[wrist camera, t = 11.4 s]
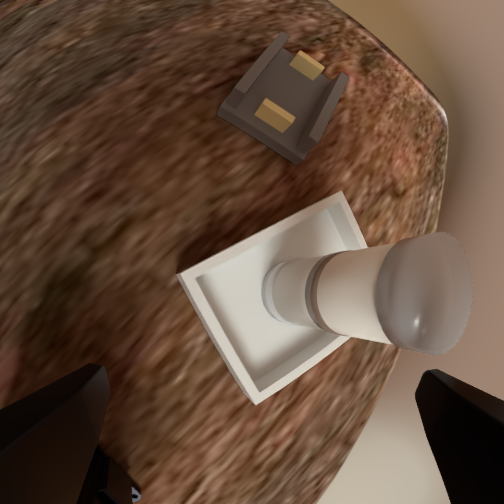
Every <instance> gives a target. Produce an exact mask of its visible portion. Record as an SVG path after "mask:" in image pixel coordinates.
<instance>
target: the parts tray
mask: <svg viewBox="0 0 504 504" xmlns="http://www.w3.org/2000/svg"><path fill="white" fill-rule="evenodd" d="M364 248H368V247H367V245H366V242H365V240H364V238H363V235H362V233H361V231H360V229H359V226H358V224H357V222H356V220H355V218H354V215H353V213H352V211H351V209H350V207H349V205H348V203H347V200H346V198H345V196H344V194H343V192H342V191H340V192H337V193H335V194H333V195H331V196H328V197H326V198H324V199H322V200H320V201H318V202H316V203H314V204H312V205H310V206H308V207H306V208H304V209H302V210H300V211H298V212H296V213H294V214H292V215H290V216H288V217H286V218H284V219H282V220H280V221H278V222H276V223H274V224H272V225H270V226H268V227H266V228H264V229H263V230H261V231H259V232H257V233H255V234H253V235H251V236H249V237H247V238H245V239H243V240H241V241H239V242H237V243H235V244H233V245H231V246H229V247H228V248H226V249H224V250H222V251H220V252H218V253H216V254H214V255H212V256H210V257H208V258H206V259H204V260H203V261H201V262H199V263H197V264H195V265H193V266H191V267H189V268H187V269H185V270H183V271H181V272H180V273H178V274H176V276H177V278H178V279H179V281H180V283H181V285H182V287H183V289H184V291H185V293H186V295H187V297H188V298H189V300H190V302H191V304H192V306H193V308H194V310H195V311H196V313H197V315H198V317H199V319H200V320H201V322H202V324H203V326H204V328H205V329H206V331H207V333H208V335H209V336H210V338H211V340H212V342H213V343H214V345H215V347H216V349H217V350H218V352H219V354H220V355H221V357H222V359H223V360H224V362H225V364H226V365H227V367H228V369H229V370H230V372H231V374H232V375H233V377H234V379H235V380H236V382H237V384H238V385H239V387H240V388H241V390H242V392H243V393H244V394H245V395H246V396H247V397H248V398H249V399H250V400H251V401H252V402H253V403H254V404H255V405H257V404H258V403H260V402H261V401H263V400H264V399H266V398H268V397H269V396H271V395H272V394H274V393H275V392H277V391H278V390H280V389H281V388H283V387H284V386H286V385H287V384H288V383H290V382H291V381H293V380H294V379H296V378H297V377H299V376H300V375H301V374H303V373H304V372H306V371H307V370H308V369H310V368H311V367H312V366H314V365H315V364H317V363H318V362H319V361H321V360H322V359H323V358H325V357H326V356H327V355H329V354H330V353H331V352H333V351H334V350H335V349H336V348H338V347H339V346H340V345H342V344H343V343H344V342H345V341H347V340H348V339H349V338H350V337H351V336H341V335H337V334H332V333H328V332H326V331H323V330H319V329H314V328H310V327H305V326H294V325H290V324H286V323H282V322H279V321H277V320H275V319H274V318H273V317H271V316H270V315H269V313H268V312H267V311H266V309H265V307H264V305H263V302H262V296H261V288H262V283H263V280H264V278H265V276H266V274H267V272H268V271H269V270H270V269H271V268H272V267H273V266H274V265H276V264H277V263H279V262H282V261H285V260H291V259H296V258H305V259H306V258H312V257H318V256H324V255H328V254H331V253H335V252H341V251H347V250H359V249H364Z"/></svg>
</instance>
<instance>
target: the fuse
mask: <svg viewBox="0 0 504 504" xmlns="http://www.w3.org/2000/svg"><path fill="white" fill-rule="evenodd" d="M261 296H262V302H263V305H264V307H265V309H266V311H267V312H268V313H269V315H270V316H271V317H273V318H274V319H275V320H277V321H279V322H282V323H286V324H290V325H294V326H305V327H310V328H314V329H319V330H323V331H326V332H328V333H332V334H337V335H341V336H351V337H356V338H361V339H366V340H371V341H377V342H382V343H387V344H393V345H395V346H396V347H399V348H401V349H405V350H411V351H416V352H422V353H428V354H434V355H440V354H443V353H446V352H448V351H449V350H450V349H452V348H453V347H454V346H455V345H456V344H457V342H458V341H459V340H460V338H461V336H462V334H463V332H464V330H465V328H466V325H467V323H468V320H469V316H470V312H471V307H472V297H473V283H472V275H471V269H470V265H469V262H468V259H467V256H466V254H465V252H464V250H463V248H462V246H461V245H460V243H459V242H458V241H457V240H456V239H455V238H454V237H453V236H452V235H450V234H448V233H444V232H436V233H431V234H426V235H421V236H415V237H410V238H406V239H403V240H401V241H399V242H397V243H392V244H387V245H381V246H376V247H370V248H364V249H359V250H347V251H341V252H335V253H331V254H328V255H324V256H318V257H312V258H306V259H305V258H296V259H291V260H285V261H282V262H279V263H277V264H276V265H274V266H273V267H272V268H271V269H270V270H269V271H268V272H267V274H266V276H265V278H264V280H263V283H262V288H261Z"/></svg>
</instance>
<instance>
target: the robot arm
mask: <svg viewBox="0 0 504 504" xmlns="http://www.w3.org/2000/svg"><path fill="white" fill-rule="evenodd" d="M109 398H110V385H109V381H108V377H107V373H106V369H105V367H104V366H103V365H99V364H94V363H89V364H87V365H85V366H83V367H81V368H79V369H78V370H76V371H74V372H72V373H70V374H68V375H66V376H64V377H62V378H61V379H59V380H57V381H55V382H53V383H51V384H49V385H47V386H45V387H43V388H41V389H40V390H38V391H36V392H34V393H32V394H30V395H28V396H26V397H24V398H22V399H20V400H18V401H16V402H14V403H12V404H10V405H8V406H6V407H4V408H2V409H1V410H0V504H133V502H136V501H138V500H140V499H141V492H140V491H139V490H138V489H137V488H136V487H135V486H134V485H133V484H132V480H131V479H130V478H129V477H128V476H127V475H126V474H125V472H124V471H123V470H122V469H121V468H120V467H119V466H118V465H117V464H116V463H115V461H114V460H113V459H112V458H111V457H109V456H106V454H105V453H104V452H103V451H102V450H101V448H100V447H99V446H98V445H97V443H98V440H99V436H100V433H101V429H102V425H103V421H104V417H105V413H106V409H107V405H108V401H109ZM415 399H416V402H417V406H418V409H419V413H420V416H421V419H422V423H423V426H424V430H425V433H426V437H427V439H428V442H429V445H430V447H431V450H432V453H433V455H434V457H435V460H436V463H437V466H438V468H439V471H440V474H441V476H442V479H443V482H444V485H445V488H446V491H447V493H448V497H449V500H450V502H451V504H504V401H503V400H501V399H498V398H497V397H494V396H492V395H490V394H488V393H486V392H484V391H482V390H480V389H478V388H475V387H473V386H471V385H469V384H467V383H465V382H463V381H461V380H458V379H457V378H455V377H452V376H450V375H448V374H446V373H444V372H442V371H440V370H438V369H432V370H427V371H425V372H424V373H423V375H422V377H421V380H420V382H419V385H418V387H417V389H416V392H415ZM132 494H136V496H134V495H132Z"/></svg>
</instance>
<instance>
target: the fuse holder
mask: <svg viewBox="0 0 504 504" xmlns="http://www.w3.org/2000/svg"><path fill="white" fill-rule="evenodd" d="M290 37H291V36H289V35H287V34H286V33H284V32H281V33H280V34H279V35H278V36H277V37H276V39H275V40H274V41H273V42H272V43H271V44H270V45H269V46H268V48H267V49H266V50H265V51H264V52H263V53H262V54H261V56H260V57H259V58H258V59H257V60H256V62H255V63H254V64H253V65H252V66H251V67H250V69H249V70H248V71H247V72H246V74H245V75H244V76H243V77H242V78H241V80H240V81H239V82H238V83H237V85H236V86H235V87H234V89H233V90H232V91H231V93H230V94H229V95H228V96H227V98H226V99H225V100H224V102H223V103H222V104H221V105H220V107H219V109H218V111H217V113H216V115H218V116H219V117H221V118H223V119H224V120H226V121H228V122H229V123H231V124H233V125H234V126H236V127H237V128H239V129H241V130H242V131H244V132H246V133H247V134H249V135H250V136H252V137H254V138H255V139H257V140H258V141H260V142H261V143H263V144H264V145H266V146H268V147H269V148H271V149H272V150H274V151H275V152H277V153H278V154H280V155H281V156H283V157H284V158H286V159H287V160H289V161H290V162H292V163H293V164H294V165H296V166H297V165H298V164H299V163H301V162H302V161H304V159H305V157H306V155H307V153H308V151H309V150H310V149H311V148H312V147H314V146H315V145H316V144H318V143H319V141H320V139H321V137H322V135H323V133H324V130H325V128H326V126H327V124H328V122H329V120H330V118H331V116H332V113H333V111H334V109H335V107H336V105H337V103H338V101H339V99H340V96H341V94H342V92H343V90H344V88H345V86H346V84H347V81H348V79H349V77H348V76H347V75H345V74H344V73H343V72H341V73H340V74H339V75H337V76H336V77H335V78H334V79H333V80H332V81H331V80H329V79H328V78H327V77H325V76H324V75H322V74H321V72H322V71H323V69H324V68H325V67H324V66H322V65H321V64H320V63H318V62H317V61H315V60H314V59H312V58H311V57H310V56H308V55H307V54H305V53H304V52H302V51H301V50H300V51H299V52H298V54H297V55H296V56H295V55H293V54H292V53H290V52H288V51H287V50H285V49H284V48H283V46H284V45H285V43H286V42H287V41H288V39H289V38H290Z"/></svg>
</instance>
